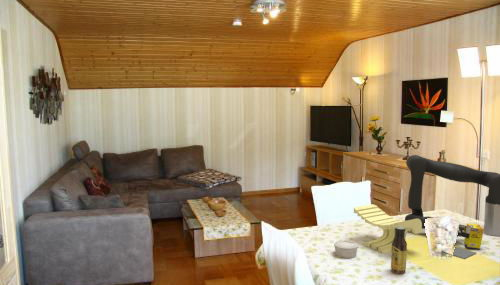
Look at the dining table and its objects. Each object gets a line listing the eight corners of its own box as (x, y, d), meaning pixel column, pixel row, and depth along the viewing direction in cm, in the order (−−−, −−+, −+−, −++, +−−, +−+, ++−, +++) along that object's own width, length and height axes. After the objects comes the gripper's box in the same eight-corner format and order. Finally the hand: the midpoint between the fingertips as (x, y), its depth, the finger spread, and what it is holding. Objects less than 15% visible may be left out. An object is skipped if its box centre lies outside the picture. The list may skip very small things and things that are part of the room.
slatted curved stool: (420, 253, 200) (422, 217, 199) (396, 259, 193) (397, 222, 191) (376, 235, 227) (376, 203, 225) (353, 240, 220) (353, 207, 218)
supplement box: (480, 250, 203) (484, 229, 201) (467, 248, 204) (470, 227, 202) (476, 244, 209) (479, 224, 207) (463, 243, 210) (466, 223, 208)
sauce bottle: (388, 268, 183) (389, 225, 181) (402, 268, 184) (403, 224, 182) (394, 275, 177) (395, 229, 175) (408, 274, 177) (410, 229, 175)
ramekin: (358, 251, 204) (358, 241, 203) (356, 260, 193) (357, 249, 193) (335, 249, 207) (335, 239, 207) (332, 257, 197) (332, 247, 196)
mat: (453, 247, 208) (453, 246, 208) (476, 253, 199) (476, 252, 199) (441, 252, 201) (441, 251, 201) (464, 259, 192) (464, 258, 192)
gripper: (434, 222, 214) (466, 229, 201) (449, 217, 222) (480, 224, 209) (434, 236, 215) (465, 244, 202) (449, 230, 223) (480, 238, 210)
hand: (473, 234), depth 206 cm, fingers closed on supplement box, 8 cm apart
